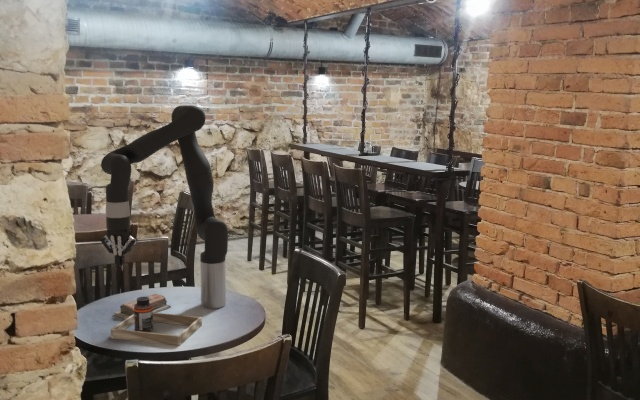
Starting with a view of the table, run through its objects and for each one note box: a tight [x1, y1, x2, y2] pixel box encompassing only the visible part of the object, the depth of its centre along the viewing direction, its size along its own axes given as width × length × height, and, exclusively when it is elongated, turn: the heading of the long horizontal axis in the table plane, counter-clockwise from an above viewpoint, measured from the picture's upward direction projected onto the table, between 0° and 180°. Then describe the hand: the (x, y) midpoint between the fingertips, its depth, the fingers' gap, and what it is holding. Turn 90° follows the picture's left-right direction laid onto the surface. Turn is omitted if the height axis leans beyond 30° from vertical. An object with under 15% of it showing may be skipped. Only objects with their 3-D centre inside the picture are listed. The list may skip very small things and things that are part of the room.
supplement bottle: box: [134, 296, 154, 333], centre depth 215 cm, size 6×6×11 cm
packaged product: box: [113, 293, 172, 320], centre depth 234 cm, size 18×5×10 cm
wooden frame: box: [110, 312, 203, 346], centre depth 215 cm, size 18×24×3 cm
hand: (119, 265), depth 214 cm, fingers closed
